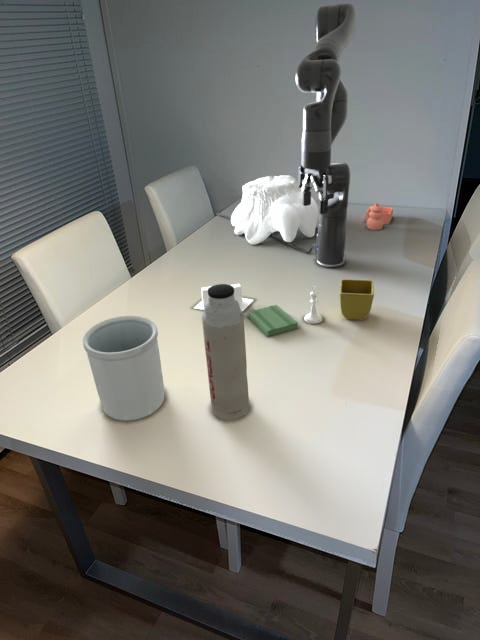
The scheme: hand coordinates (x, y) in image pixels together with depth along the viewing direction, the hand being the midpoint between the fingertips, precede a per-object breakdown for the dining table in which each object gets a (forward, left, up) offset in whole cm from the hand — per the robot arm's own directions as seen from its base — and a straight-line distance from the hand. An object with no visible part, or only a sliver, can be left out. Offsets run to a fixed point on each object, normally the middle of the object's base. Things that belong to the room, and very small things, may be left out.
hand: (314, 209), depth 133 cm
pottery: (-44, +58, -27) cm, 78 cm away
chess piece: (+12, -7, -27) cm, 30 cm away
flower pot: (+16, +4, -27) cm, 31 cm away
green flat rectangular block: (+8, -18, -27) cm, 33 cm away
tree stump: (-60, +19, -27) cm, 69 cm away
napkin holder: (-9, -25, -27) cm, 38 cm away
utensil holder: (+24, -60, -27) cm, 70 cm away
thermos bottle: (+36, -42, -27) cm, 61 cm away
